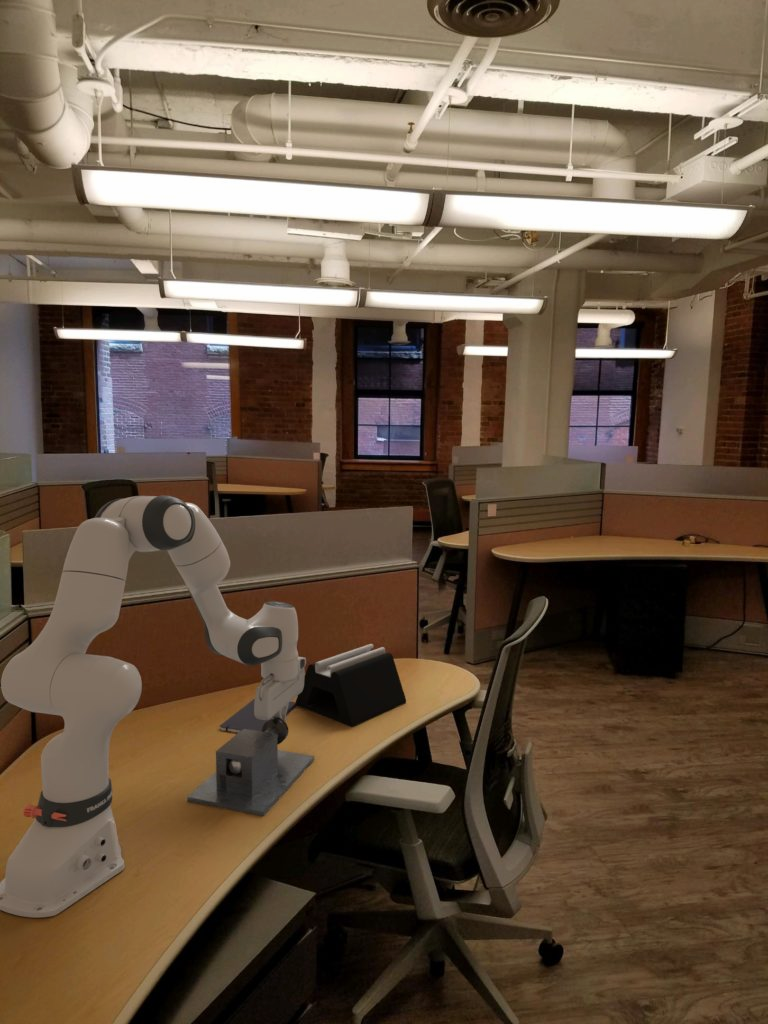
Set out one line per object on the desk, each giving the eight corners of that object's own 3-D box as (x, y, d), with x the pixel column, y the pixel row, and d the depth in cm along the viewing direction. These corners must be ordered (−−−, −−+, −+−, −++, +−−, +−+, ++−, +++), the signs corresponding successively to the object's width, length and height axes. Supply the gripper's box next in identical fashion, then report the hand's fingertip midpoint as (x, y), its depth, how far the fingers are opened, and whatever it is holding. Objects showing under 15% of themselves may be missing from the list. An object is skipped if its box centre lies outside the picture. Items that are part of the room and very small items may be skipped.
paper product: (262, 738, 182) (296, 707, 202) (262, 733, 182) (296, 702, 202) (218, 732, 186) (256, 702, 206) (218, 726, 185) (256, 696, 205)
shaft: (247, 782, 150) (247, 755, 150) (222, 778, 152) (222, 751, 152) (288, 742, 169) (288, 718, 169) (265, 739, 171) (265, 715, 170)
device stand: (295, 706, 202) (295, 655, 201) (349, 684, 219) (350, 637, 218) (352, 728, 188) (352, 674, 186) (406, 703, 205) (406, 653, 203)
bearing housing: (263, 816, 145) (263, 769, 144) (187, 801, 150) (186, 756, 149) (314, 759, 169) (314, 719, 168) (247, 748, 175) (246, 709, 174)
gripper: (271, 684, 159) (272, 742, 161) (309, 656, 178) (309, 709, 180) (246, 680, 161) (247, 738, 163) (286, 653, 180) (286, 706, 182)
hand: (280, 723), depth 171 cm, fingers closed
